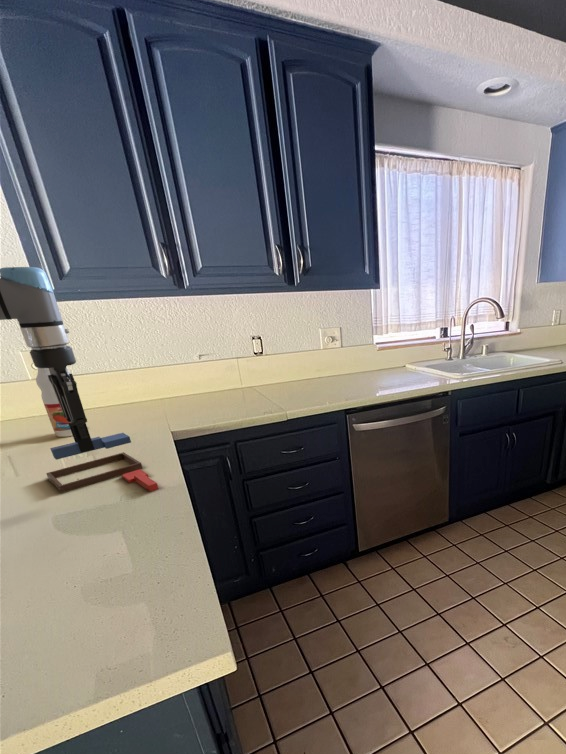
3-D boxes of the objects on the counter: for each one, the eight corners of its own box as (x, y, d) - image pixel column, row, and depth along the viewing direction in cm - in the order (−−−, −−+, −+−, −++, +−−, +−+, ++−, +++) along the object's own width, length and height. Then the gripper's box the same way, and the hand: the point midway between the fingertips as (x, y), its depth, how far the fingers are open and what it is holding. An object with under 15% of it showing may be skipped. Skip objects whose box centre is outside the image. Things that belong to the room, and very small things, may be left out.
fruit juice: (79, 427, 162) (52, 351, 150) (91, 431, 157) (65, 353, 146) (51, 435, 155) (21, 355, 143) (62, 439, 150) (32, 357, 139)
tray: (62, 495, 108) (59, 486, 107) (49, 481, 117) (46, 473, 116) (143, 470, 121) (141, 462, 120) (126, 459, 130) (123, 452, 129)
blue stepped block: (57, 461, 96) (53, 451, 95) (52, 456, 99) (48, 446, 98) (131, 442, 106) (128, 433, 105) (124, 438, 109) (122, 429, 108)
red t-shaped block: (165, 489, 109) (162, 481, 108) (145, 496, 106) (142, 487, 105) (141, 474, 119) (139, 466, 118) (122, 480, 116) (120, 471, 115)
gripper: (79, 347, 89) (113, 451, 99) (62, 342, 99) (94, 438, 109) (36, 352, 85) (76, 461, 95) (22, 346, 94) (60, 446, 104)
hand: (86, 449), depth 102 cm, fingers closed on blue stepped block, 2 cm apart
